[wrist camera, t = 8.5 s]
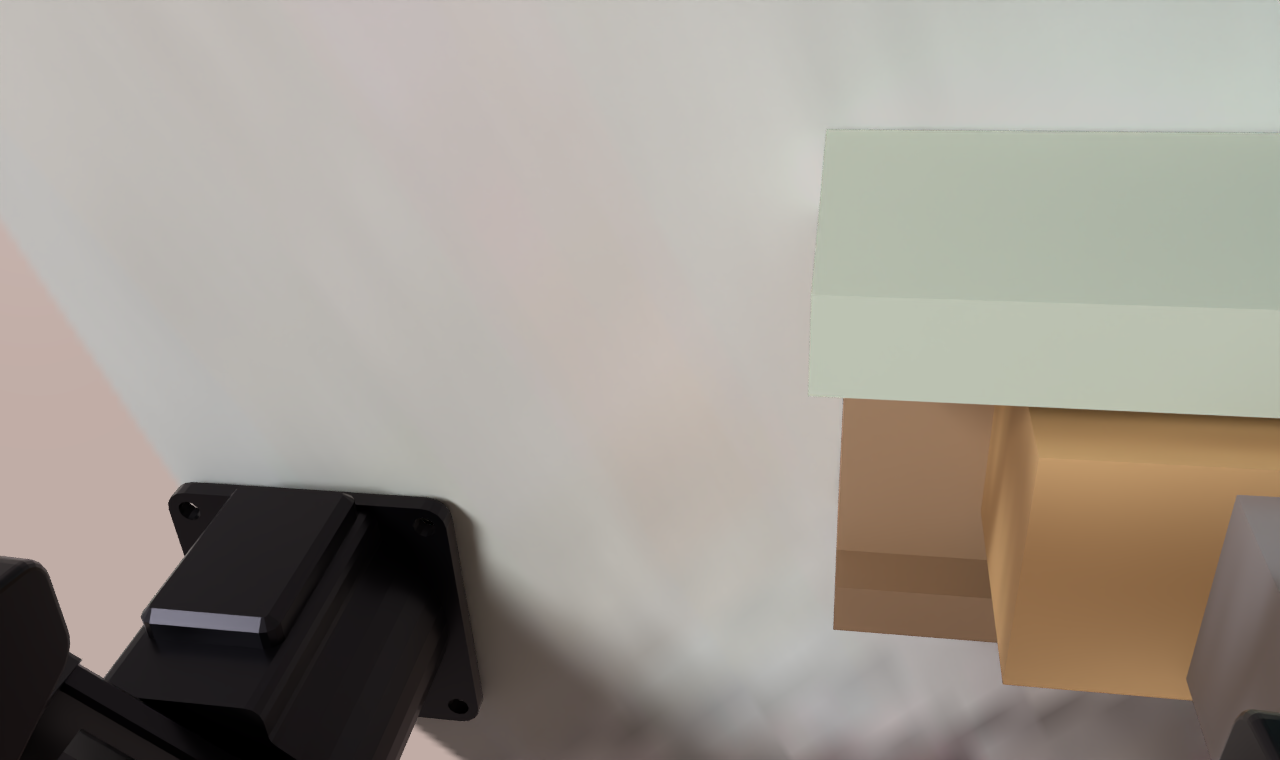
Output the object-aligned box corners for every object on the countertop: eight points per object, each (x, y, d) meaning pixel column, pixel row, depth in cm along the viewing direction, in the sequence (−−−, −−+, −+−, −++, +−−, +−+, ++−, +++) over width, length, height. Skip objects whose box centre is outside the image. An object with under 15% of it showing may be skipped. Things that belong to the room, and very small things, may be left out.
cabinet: (1356, 544, 19) (1593, 981, 13) (980, 521, 20) (1029, 914, 14) (1435, 320, 17) (1768, 715, 11) (1007, 307, 18) (1081, 660, 12)
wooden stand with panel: (1461, 547, 22) (1639, 817, 17) (812, 506, 24) (797, 736, 19) (1632, 136, 17) (1940, 331, 12) (826, 129, 19) (810, 295, 14)
